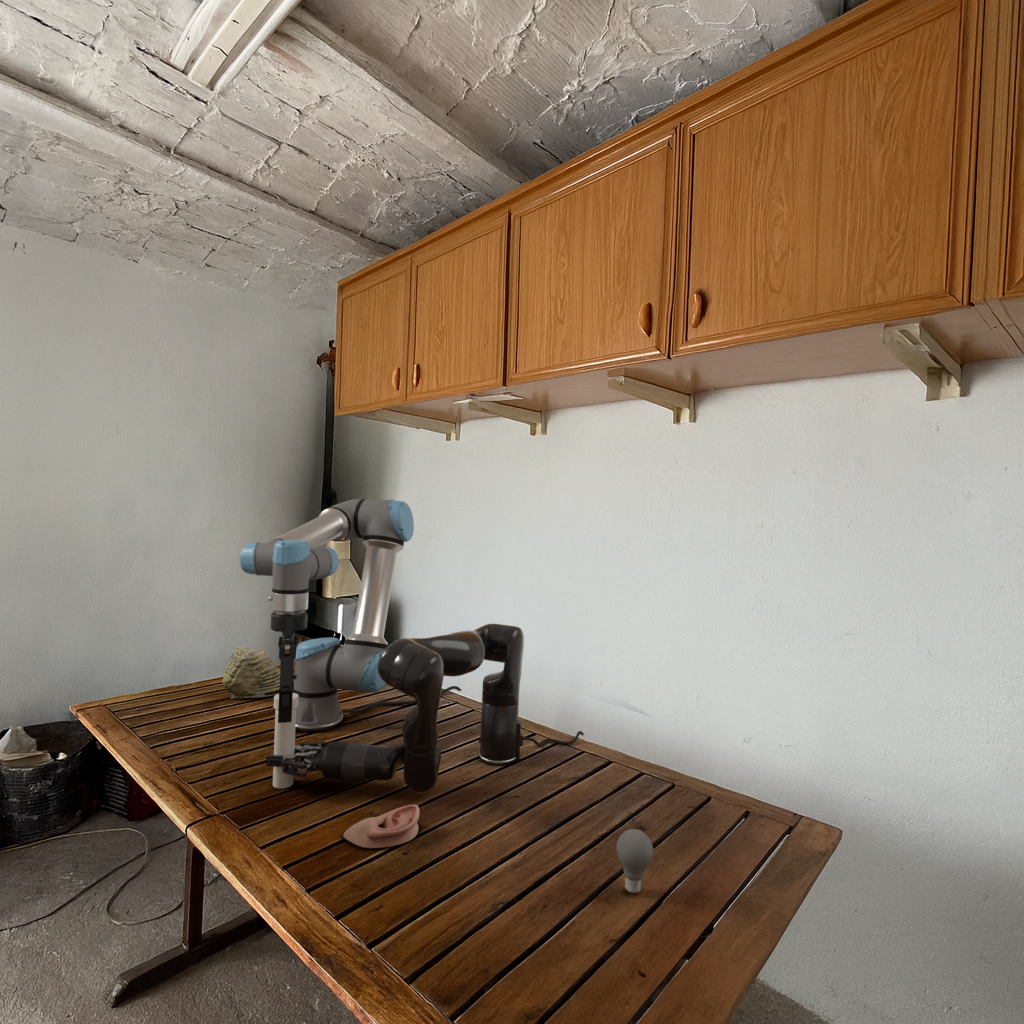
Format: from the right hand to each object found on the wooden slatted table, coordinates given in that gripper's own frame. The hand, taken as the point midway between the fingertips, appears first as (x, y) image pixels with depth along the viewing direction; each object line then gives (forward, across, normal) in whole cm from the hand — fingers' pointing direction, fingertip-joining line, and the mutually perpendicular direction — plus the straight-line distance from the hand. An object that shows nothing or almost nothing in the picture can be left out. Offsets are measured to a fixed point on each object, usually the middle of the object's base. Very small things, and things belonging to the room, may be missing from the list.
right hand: (271, 755), depth 139 cm
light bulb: (-75, +30, +6) cm, 81 cm away
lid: (-3, 0, -13) cm, 13 cm away
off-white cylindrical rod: (-3, 0, +6) cm, 7 cm away
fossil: (+30, -58, +6) cm, 66 cm away
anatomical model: (-29, +17, +6) cm, 34 cm away
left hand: (-3, 0, -9) cm, 9 cm away
